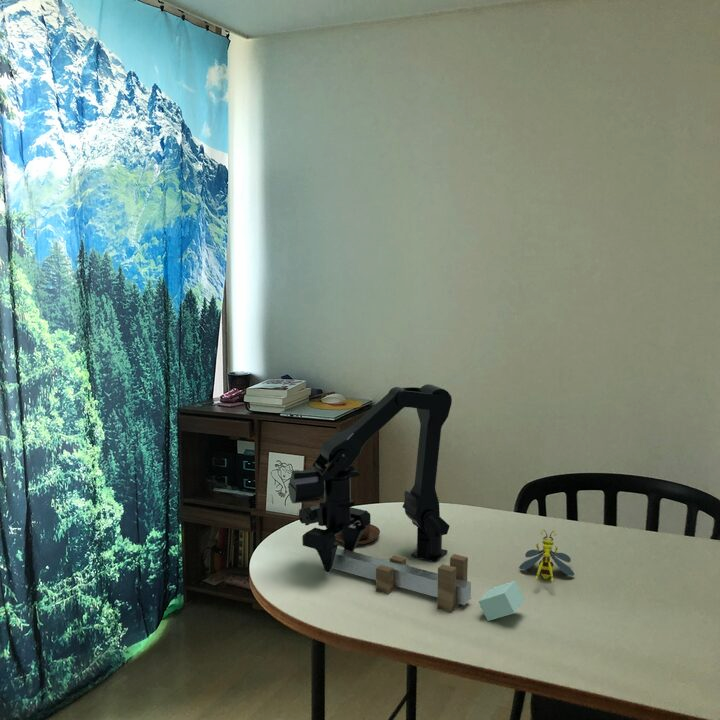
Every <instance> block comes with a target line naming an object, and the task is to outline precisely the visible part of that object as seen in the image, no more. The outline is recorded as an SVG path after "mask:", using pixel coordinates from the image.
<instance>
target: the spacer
mask: <svg viewBox="0 0 720 720" xmlns="http://www.w3.org/2000/svg"><path fill="white" fill-rule="evenodd" d="M525 600H526V599H525V597H524V594H523V592H522V591H521V589H520V587H519V585H518V582H517V580H512V581H510V582H507V583H504V584H503V583H502V584H501V585H498V586H495V587H492V588H489V589H488V590H487V591H486V592H485V594H484V595H483V596H482V597H481V598H480V599H479V600H478V604H479V605H480V608H481V610H482V612H483V614H484V616H485V618H486V620H487V622H489V621H493V620H495V619H499V618H503V617H506V616H509V615H513V614H515V613H516V612H517V611H518V610H519V608H520V607H521V606H522V604H523V603H524V602H525Z"/></svg>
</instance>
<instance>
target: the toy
mask: <svg viewBox="0 0 720 720" xmlns="http://www.w3.org/2000/svg"><path fill="white" fill-rule="evenodd" d="M543 533H545V536H544V537H543V538H542V539H543V540H542V544H543V545H542V549H540V548H539V543H537V544H535V546H536V549H530V550H527V551H526V552H525V554H524V556H525V558H529V559H528V560H525V561H524V562H522V563H521V564H520V565H519V567H518V569H519V570H529V569H531V568H532V567H533V566H534V565H536V564H537V562H538V561H539V562H538V569H537V571H536V575H535V578H534V579H535V580H539V576H540V575H541V576H542V578H543V579H544V580H545V581H546V580H548V579H549V578H551V579H550V581H551V582H554V575H553V572H554V569H555V568H554V567H555V566H554V563H555V564H556V566H557V567H558V569H559V570H560V571H561V572H562V573H563V574H565V575H567V576H570V577H574V576H575V572H574V571H573V570H572V569H571V568H570V567H569V566H568V565H567V564H565V562H566V563H568V564H569V563H570V562H571V561H572V560H571V557H570V556H569V555H568V554H566V553H563V552H557V551H558V549H559V547H558V546H556V545H554V538H553V537H552V534H553V533H554V536H557V532H556V531H555V530H553V531H552V532H551V533H550V534H549V537H548V533H547V531H546V530H545V529H541V531H540V535H543ZM553 545H554V547H555V549H554V550H555V551H553V550H552V549H553ZM551 559H552V560H553V561H552V560H551ZM553 562H554V563H553Z"/></svg>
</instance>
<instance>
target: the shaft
mask: <svg viewBox="0 0 720 720" xmlns="http://www.w3.org/2000/svg"><path fill="white" fill-rule="evenodd" d="M380 565H384V566H388V567H392V568H394V578H393V585H395V586H398V587H399V588H402V589H405V590H409V591H413V592H416V593H421V594H424V595H428V596H431V597H435V598H438V572H433V571H430V570H425V569H421V568H418V567H413V566H410V565H407V564H406V565H403V564H399V563H395V562H391V561H389V560H388V559H384V558H381V557H380V558H379V557H375V556H371V555H368V554H363V553H360V552H355V551H349V550H345V549H344V548H340V547H337V550H336V554H335V558H334V561H333V565H332V568H331V569H334V570H338V571H341V572H346V573H348V574H352V575H356V576H358V577H363V578H367V579H369V580H370V579H371V580H373V581H376V568H377V567H378V566H380ZM398 587H397V588H398ZM471 596H472V582H471V581H469V580H467V581H465V580H461V579H457V578H456V603H459V605H463V606H465V605H467V603H468V602H469V601H470V600H471V599H472V597H471Z"/></svg>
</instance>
